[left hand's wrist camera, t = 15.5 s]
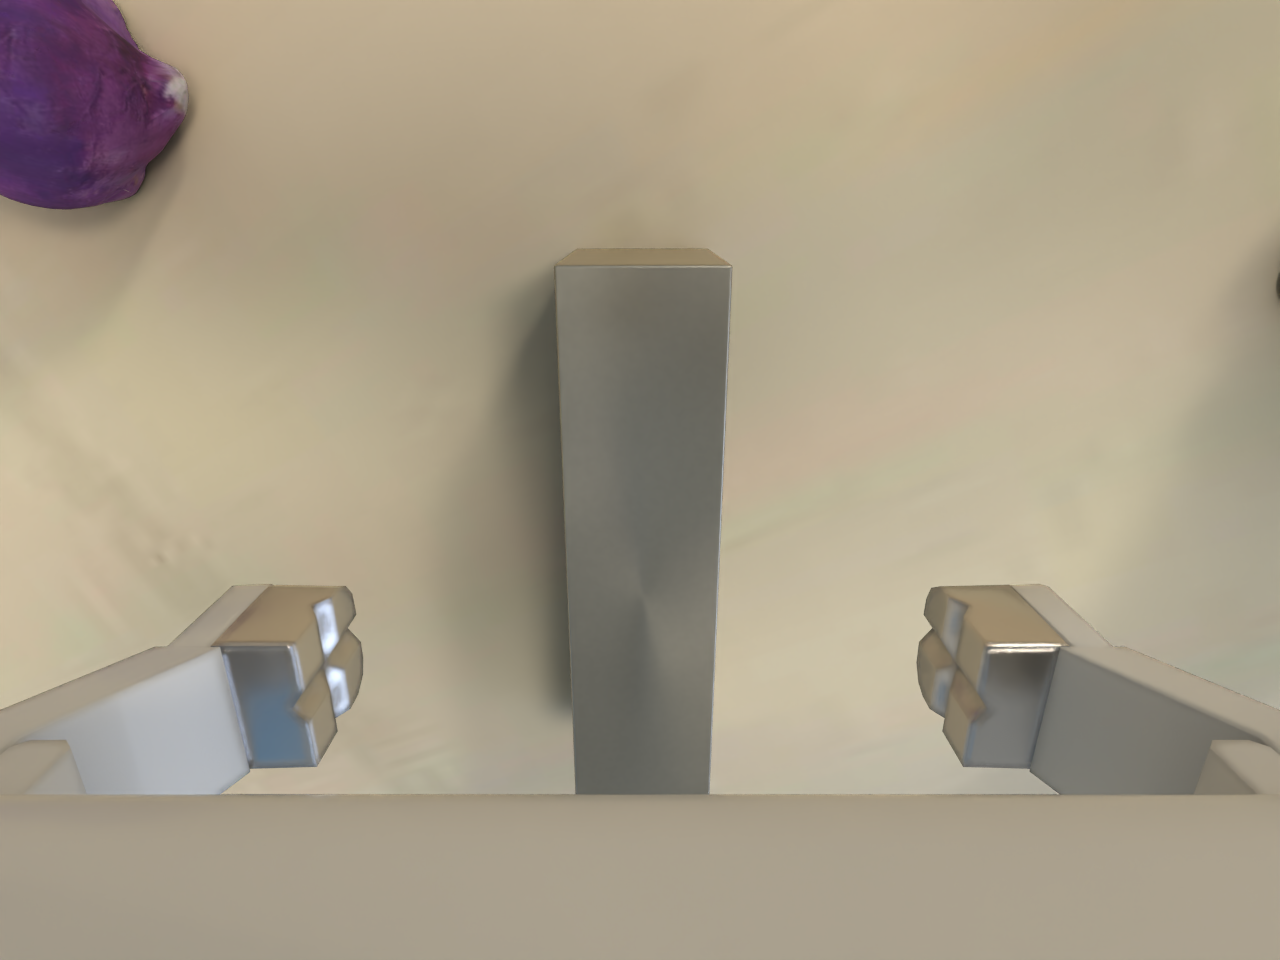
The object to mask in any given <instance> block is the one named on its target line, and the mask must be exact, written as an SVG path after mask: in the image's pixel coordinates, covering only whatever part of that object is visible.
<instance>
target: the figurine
mask: <svg viewBox="0 0 1280 960" xmlns="http://www.w3.org/2000/svg"><path fill="white" fill-rule="evenodd" d="M188 99H189V95H188V87H187V83H186V81H185V79H184V77H183V75H182V74H181V73H180V72H179V71H178V69H177V68H174V67H172V66H170V65H168V64H165V63H163V62H161V61H158V60H156V59H153V58H151V57H150V56H148V55H146V54H145V53H143V52H142V51H140V50H139V49H138V46H137V44H136V43H135V42H134V41H133V39H132V38H131V35H130V33H129V31H128V30H127V28H126V25H125V22H124V19H123V17H122V15H121V13H120V11H119V9H118V8H117V6H116V5H115V4H114V2H113V1H112V0H0V194H1V195H2V196H4V197H7V198H9V199H12V200H15V201H18V202H21V203H24V204H28V205H32V206H38V207H44V208H50V209H76V208H84V207H91V206H97V205H100V204H103V203H108V202H113V201H117V200H122V199H125V198H128V197H131V196H132V195H134V194H135V193H136V192H137V190H138V189H139V187H140V185H141V183H142V181H143V179H144V177H145V168H146V166H147V164H148V163H149V162H150V161H151V160H152V159H154V158H155V157H156V156H157V155H158V154H159V153H160V152H161V151H162V150H163V149H164V147H165V146H166V144H167V143H168V141H169V140H170V138H171V137H172V136H173V134H174V133H175V131H176V130H177V129H178V127H179V126H180V124H181V123H182V121H183V119H184V117H185V116H186V112H187V108H188Z"/></svg>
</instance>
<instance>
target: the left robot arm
mask: <svg viewBox="0 0 1280 960" xmlns="http://www.w3.org/2000/svg"><path fill="white" fill-rule="evenodd" d="M355 616H356V610H355V605H354V600H353V595H352V593H351V592H350V591H349V589H348V588H347V587H346V586H309V585H272V584H257V585H237V586H232V587H231V588H230V589H229V590H227V591H226V592H225V593H224V594H223V595H222V596H221V597H220V598H219V599H218V600H217V601H216V602H214V603H213V604H212V605H211V606H210V607H209V608H208V609H207V610H206V611H205V612H204V613H203V614H202V615H200V616H199V617H198V618H197V619H196V620H195V621H194V622H193V623H192V624H191V625H190V626H189V627H188V628H186V629H185V630H184V631H183V632H182V633H181V634H180V635H179V636H178V637H177V638H176V639H175V640H174V641H172V642H171V643H170V644H169V645H168V646H167V647H153V648H151V649H148V650H146V651H143V652H141V653H139V654H136V655H134V656H131V657H129V658H126V659H124V660H121V661H119V662H117V663H114V664H112V665H109V666H107V667H104V668H102V669H99V670H97V671H95V672H92V673H90V674H87V675H85V676H82V677H80V678H77V679H75V680H72V681H70V682H68V683H65V684H63V685H60V686H58V687H55V688H53V689H50V690H48V691H46V692H43V693H41V694H38V695H36V696H33V697H31V698H28V699H26V700H24V701H21V702H19V703H16V704H14V705H11V706H9V707H6V708H4V709H2V710H0V960H1280V710H1278V709H1276V708H1273V707H1271V706H1268V705H1266V704H1263V703H1261V702H1259V701H1256V700H1254V699H1251V698H1249V697H1246V696H1244V695H1241V694H1239V693H1237V692H1234V691H1232V690H1229V689H1227V688H1224V687H1222V686H1219V685H1217V684H1215V683H1212V682H1210V681H1207V680H1205V679H1202V678H1200V677H1198V676H1195V675H1193V674H1190V673H1188V672H1185V671H1183V670H1180V669H1178V668H1176V667H1173V666H1171V665H1168V664H1166V663H1163V662H1161V661H1159V660H1156V659H1154V658H1151V657H1149V656H1146V655H1144V654H1141V653H1139V652H1137V651H1134V650H1132V649H1129V648H1127V647H1113V646H1112V645H1111V644H1110V643H1109V642H1108V641H1107V640H1105V639H1104V638H1103V637H1102V636H1101V635H1100V634H1099V633H1098V632H1097V631H1096V630H1095V629H1094V628H1093V627H1091V626H1090V625H1089V624H1088V623H1087V622H1086V621H1085V620H1084V619H1083V618H1082V617H1081V616H1080V615H1079V614H1078V613H1076V612H1075V611H1074V610H1073V609H1072V608H1071V607H1070V606H1069V605H1068V604H1067V603H1066V602H1065V601H1064V600H1062V599H1061V598H1060V597H1059V596H1058V595H1057V594H1056V593H1055V592H1054V591H1053V590H1052V589H1051V588H1050V587H1048V586H1044V585H1041V584H1027V585H980V586H940V587H934V588H931V590H930V592H929V594H928V596H927V599H926V604H925V610H924V616H925V617H926V619H927V620H928V622H929V623H930V625H931V627H932V629H931V630H930V631H929V632H928V633H927V634H926V635H925V636H924V638H923V639H922V640H921V641H920V642H919V648H918V656H917V672H918V682H919V686H920V689H921V692H922V695H923V697H924V699H925V701H926V703H927V705H928V707H929V708H930V709H931V710H933V711H934V712H936V713H937V714H939V715H941V716H942V717H944V718H945V719H944V725H943V733H944V735H945V736H946V738H947V740H948V742H949V743H950V745H951V747H952V748H953V750H954V752H955V754H956V755H957V757H958V759H959V760H960V762H961V764H962V766H963V767H989V768H1026V769H1030V772H1031V773H1032V774H1034V775H1035V776H1036V777H1038V778H1039V779H1040V780H1042V781H1043V782H1044V783H1046V784H1047V785H1048V786H1050V787H1051V788H1052V789H1054V790H1055V791H1056V792H1058V793H1059V794H221V793H223V792H224V791H225V790H227V789H228V788H229V787H231V786H232V785H233V784H235V783H236V782H237V781H239V780H240V779H241V778H243V777H244V776H245V775H247V774H248V773H249V772H250V769H254V768H289V767H317V766H318V764H319V762H320V761H321V759H322V757H323V755H324V754H325V752H326V750H327V748H328V747H329V745H330V743H331V742H332V740H333V738H334V736H335V735H336V733H337V725H336V719H335V718H336V717H338V716H339V715H341V714H343V713H344V712H346V711H347V710H349V709H350V708H351V707H352V705H353V703H354V701H355V699H356V697H357V695H358V693H359V688H360V684H361V680H362V676H363V654H362V647H361V642H360V641H359V640H358V639H357V638H356V636H355V635H354V634H353V633H352V632H351V631H350V630H349V629H348V627H349V625H350V623H351V622H352V620H353V619H354V617H355Z"/></svg>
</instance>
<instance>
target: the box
mask: <svg viewBox="0 0 1280 960" xmlns="http://www.w3.org/2000/svg"><path fill="white" fill-rule="evenodd" d="M554 280H555V305H556V329H557V353H558V378H559V402H560V426H561V451H562V475H563V499H564V524H565V548H566V572H567V597H568V621H569V645H570V669H571V694H572V718H573V742H574V767H575V791H576V794H709V791H710V768H711V745H712V722H713V700H714V677H715V654H716V631H717V608H718V585H719V562H720V539H721V517H722V494H723V471H724V448H725V425H726V402H727V379H728V356H729V334H730V311H731V288H732V265H730V264H729V263H727V262H726V261H725V260H723V259H722V258H720V257H719V256H717V255H716V254H715V253H713V252H712V251H710V250H709V249H576V250H575V251H573V252H572V253H571V254H569V255H568V256H567V257H565V258H564V259H563V260H561V261H560V262H559V263H557V264H556V265H555V266H554Z"/></svg>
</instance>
